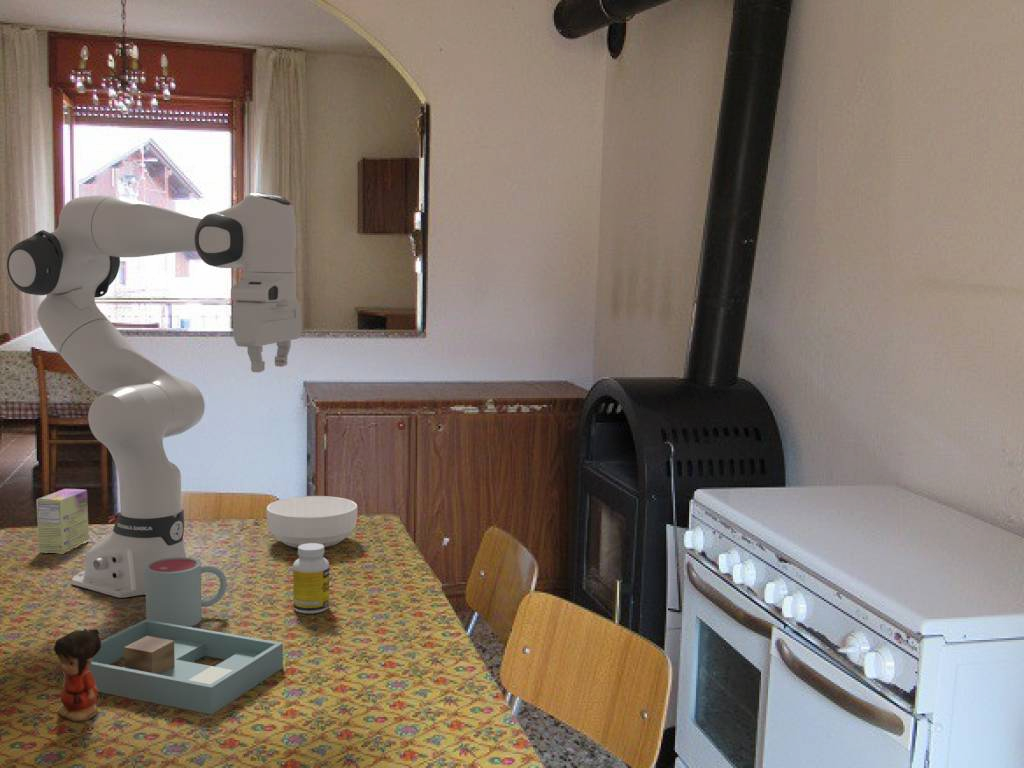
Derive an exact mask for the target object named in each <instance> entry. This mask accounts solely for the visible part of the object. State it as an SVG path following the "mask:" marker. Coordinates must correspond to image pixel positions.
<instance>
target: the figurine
mask: <svg viewBox="0 0 1024 768" xmlns="http://www.w3.org/2000/svg"><path fill="white" fill-rule="evenodd" d="M100 648H101V637H100V632H99V630H98V629H97V628H93V629H92V628H90V629H86V628H85V629H83V630H79V629H78V630H74V631H71V632H70V633H67V634H65V635H63V636H62V637H61V638H59V639H57V640H56V641H55V644H54V646H53V651H54V652H55V654H56V656H57V657H58V659H59V666H60V668H61V671H62V672H63V674H64V673H65V677H64V676H63V679H64V678H65V684H63V686H62V691H61V693H60V701H61V703H62V705H60V707H59V708H58V711H57V714H58V715H59V716H61V717H63V718H65V720H66V719H67V720H70V721H72V722H75V723H81V722H86V721H88V720H91V719H92V718H94V717H95V716H96V715H97V714H98V712H99V711H98V707H97V705H96V701H97V699H98V695H99V693H98V689H97V686H96V685H95V679H94V678H93V676H92V674H91V672H90V670H89V668H88V666H89V665H90V664H91V662H92V659H91V658H92V657H94V656H95V655H96V654H97V653H98V652H99V650H100Z"/></svg>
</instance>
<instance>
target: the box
mask: <svg viewBox="0 0 1024 768" xmlns="http://www.w3.org/2000/svg"><path fill="white" fill-rule="evenodd" d="M35 501H36V518H37V519H36V522H37V538H38V540H37V542H38V553H39V552H49V553H65V552H66V551H67V550H70V549H71V548H73V547H75V546H77V545H79V544H80V543H83V542H84V541H86V540H88V539H89V540H90V535H89V510H88V490H87V489H80V488H78V489H77V488H63V489H62V488H61V490H60V489H59V490H58V491H55V492H53V493H50V494H47V495H44V496H42V497H39V498H36V500H35ZM70 551H71V550H70ZM65 554H66V553H65Z"/></svg>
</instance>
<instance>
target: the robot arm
mask: <svg viewBox="0 0 1024 768" xmlns="http://www.w3.org/2000/svg"><path fill="white" fill-rule="evenodd" d="M296 229H297V227H296V216H295V210H294V207H293V205H292V203H291V201H289V200H288V199H286V197H283V196H279V195H274V194H269V193H262V192H250V193H248V194H247V195H246V196H244V198H243V199H242V200H241V201H239V202H238V203H237V204H235V205H233V206H231V207H228V208H226V209H223V210H221V211H217V212H215V213H214V212H213V213H208V214H207V215H205V216H204V217H199V216H194V215H191V214H185V213H182V212H179V211H176V210H172V209H170V208H169V209H168V208H165V207H162V206H158V205H155V204H151V203H149V202H145V201H143V200H138V199H134V198H130V197H124V196H117V195H103V194H102V195H88V196H87V195H86V196H80V197H76V198H73V199H71V200H69V201H68V202H66V204H64V205H63V207H62V209H61V210H60V213H59V218H58V227H57V228H56V229H55V230H54V231H51V232H49V231H47V230H45V229H43V230H42V229H41V230H40V231H37V232H36V233H34V234H33V235H32V236H29V237H28V238H25V239H23V240H22V241H20V242H19V241H18V243H15V245H14V246H12V248H11V249H10V251H9V253H8V256H7V260H6V261H7V262H6V270H7V275H8V277H9V280H10V282H12V284H13V286H14V287H16V289H17V290H18V291H20V292H22V293H25V294H28V295H33V296H45V298H44V299H43V300H42V301H41V302H40V304H39V306H38V308H37V312H36V316H37V317H36V318H37V320H38V323H39V325H40V326H41V327H40V328H41V329H42V330H43V332H44V334H45V336H46V337H47V339H48V340H49V342H50V344H51V345H52V346H53V348H54V349H55V351H56V352H57V353H58V354H59V355H60V356H61V358H62V359H63V360H64V362H66V363H67V364H68V366H69V367H70V369H71V370H73V372H74V373H75V375H76V376H78V378H79V379H80V380H81V381H82V382H83V384H85V385H86V386H87V387H88V388H90V389H92V390H94V391H97V392H100V393H103V394H100V395H98V396H97V397H96V398H95V399H94V400H93V401H92V402H91V405H90V406H89V409H88V418H87V419H88V420H87V421H88V424H89V425H88V426H89V429H90V431H91V433H92V435H93V436H94V437H95V439H96V440H97V441H98V442H100V443H101V444H103V446H105V447H106V448H107V449H108V451H109V453H110V454H111V457H112V458H113V462H114V463H115V467H116V471H117V475H118V486H119V503H120V507H119V509H120V511H119V512H117V514H115V515H111V516H108V519H110V520H109V521H108V523H109V524H110V523H113V522H115V523H114V526H113V528H112V531H111V532H110V533H109V534H108V535H106V536H104V538H102V539H101V540H100V541H98V542H97V543H95V545H94V546H92V547H91V548H90V549H89V550H88V552H87V554H86V556H85V561H84V570H83V571H80V572H78V573H76V574H75V575H73V577H72V578H71V585H74V586H76V587H80V588H84V589H87V590H91V591H94V592H97V593H101V594H104V595H108V596H111V597H115V598H117V599H118V598H119V599H122V598H123V599H124V598H129V597H130V598H131V597H135V596H142V595H143V596H144V595H145V596H146V582H145V566H146V565H147V564H148V563H150V562H152V561H155V560H158V559H163V558H171V557H187V555H186V550H185V544H184V531H185V512H184V509H183V508H182V473H181V470H180V469H179V467H178V466H177V465H176V464H174V463H173V462H171V461H170V460H169V458H168V456H167V454H166V451H165V448H164V442H163V441H164V439H165V438H169V437H173V436H178V435H181V434H183V433H185V432H186V431H189V430H190V429H192V428H193V427H195V426H196V425H197V424H199V423H200V422H201V420H202V418H203V417H204V413H205V399H204V396H203V394H202V392H201V390H200V389H199V388H198V387H197V386H196V385H195V384H194V383H192V382H191V381H187V380H184V379H181V378H179V377H176V376H175V375H172V374H171V373H169V371H166V370H165V369H163V368H162V367H160V366H159V365H157V364H156V363H154V362H153V361H152V360H150V359H149V358H147V357H146V356H145V355H143V354H142V353H141V352H140V351H138V350H137V349H136V348H135V347H134V346H133V345H132V344H131V343H130V342H129V341H128V340H127V339H126V338H125V336H124V335H122V333H121V332H120V331H119V330H118V328H116V326H115V325H114V324H113V323H112V322H111V321H110V320H109V319H108V317H107V316H106V315H105V314H104V313H103V312H102V311H101V310H100V308H99V307H98V306H97V304H96V299H95V298H102V297H104V296H105V295H106V294H107V293H108V290H109V288H110V285H111V284H112V283H113V282H114V281H115V279H116V278H117V275H118V273H119V271H120V266H121V258H141V257H150V256H157V255H166V254H173V253H182V252H197V253H196V254H198V256H199V257H200V259H201V260H202V262H204V263H205V264H207V265H208V266H211V267H216V268H220V269H242V270H243V271H242V273H243V274H242V275H243V276H242V278H241V279H240V281H238V282H237V283H236V284H235V285H234V286H232V287H231V289H230V299H231V300H232V301H234V304H233V307H232V329H233V330H232V331H233V339H234V342H235V345H236V346H237V347H245V348H247V355H248V357H249V360H250V362H251V363H250V367H251V368H250V370H251V372H252V373H262V372H264V371H265V369H266V367H265V366H266V362H265V361H264V360H263V356H262V355H263V354H262V352H263V347H264V346H267V345H271V344H276V346H277V350H276V355H274V365H275V367H281V368H282V367H286V366H287V365H288V356H289V353H290V350H291V347H292V346H291V341H293V340H298V339H300V337H301V336H302V331H303V330H302V328H303V327H302V313H301V312H302V311H301V304H300V301H299V300H298V298H297V269H296V266H295V260H294V259H295V252H296V248H297V232H296V231H297V230H296Z"/></svg>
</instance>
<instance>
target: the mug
mask: <svg viewBox="0 0 1024 768" xmlns="http://www.w3.org/2000/svg"><path fill="white" fill-rule="evenodd" d="M206 573H212V574H214V575H216V577H218V579H219V582H220V583H219V584H220V585H219V586H220V587H219V589H218V592H217V593H216V594H215V595H214V596H213V597H211V598H210V599H202V575H203V574H206ZM227 581H228V580H227V578H226V574H225V573H224V572H223V571H222V569H220V568H218V567H217V566H215V565H203V566H202V562H201V561H200V560H198V559H197V558H193V557H187V556H186V557H171V558H163V559H158V560H155V561H152V562H150V563H148V564H147V565H146V566H145V582H146V595H145V614H146V615H145V616H146V620H152V621H158V622H164V623H170V624H175V625H181V626H187V627H193V626H196V625H197V624H199V623H201V621H202V615H203V614H202V608H203V607H205V608H209V607H211V606H214V605H216V604H218V602H220V601H221V600H222V598H223V597H224V595H225V594H226V590H227V588H228V587H227V586H228V583H227Z"/></svg>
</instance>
